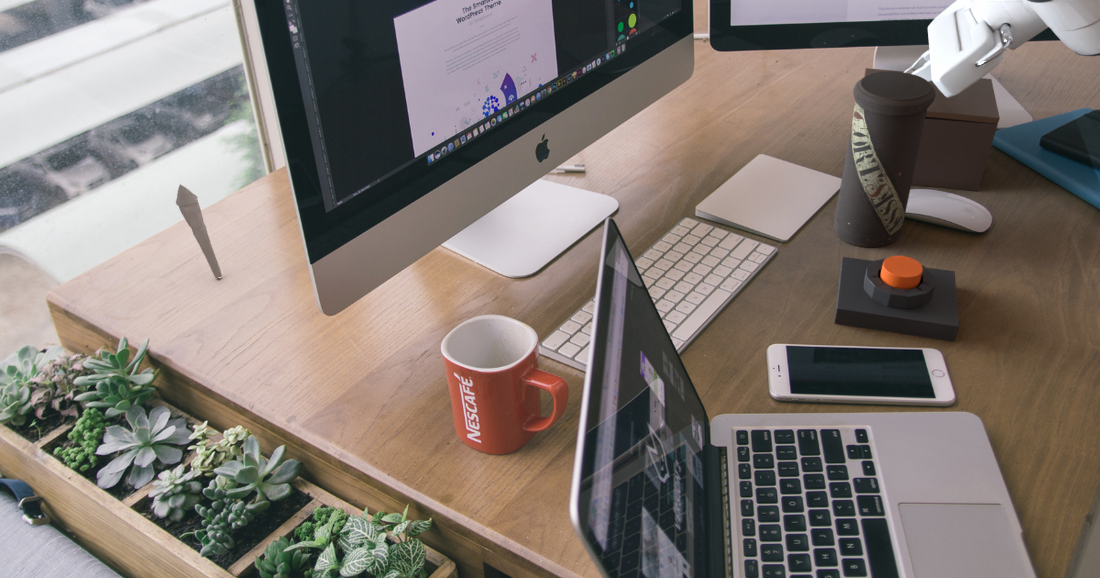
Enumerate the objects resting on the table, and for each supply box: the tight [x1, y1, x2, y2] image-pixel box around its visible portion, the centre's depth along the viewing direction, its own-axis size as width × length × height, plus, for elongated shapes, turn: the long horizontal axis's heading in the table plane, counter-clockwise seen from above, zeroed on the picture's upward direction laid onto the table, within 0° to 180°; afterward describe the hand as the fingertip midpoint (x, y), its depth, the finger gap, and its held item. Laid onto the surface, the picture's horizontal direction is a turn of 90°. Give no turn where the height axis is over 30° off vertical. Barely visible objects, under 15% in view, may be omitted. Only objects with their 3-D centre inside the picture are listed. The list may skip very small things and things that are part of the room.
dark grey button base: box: [833, 256, 960, 343], centre depth 86 cm, size 12×10×4 cm
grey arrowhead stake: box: [175, 184, 223, 279], centre depth 97 cm, size 2×3×14 cm
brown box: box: [911, 117, 999, 192], centre depth 108 cm, size 16×13×10 cm
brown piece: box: [863, 67, 1000, 125], centre depth 105 cm, size 16×13×1 cm
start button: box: [880, 255, 923, 290], centre depth 84 cm, size 4×4×2 cm
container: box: [832, 70, 936, 248], centre depth 93 cm, size 9×9×20 cm
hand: (904, 83), depth 105 cm, fingers closed
